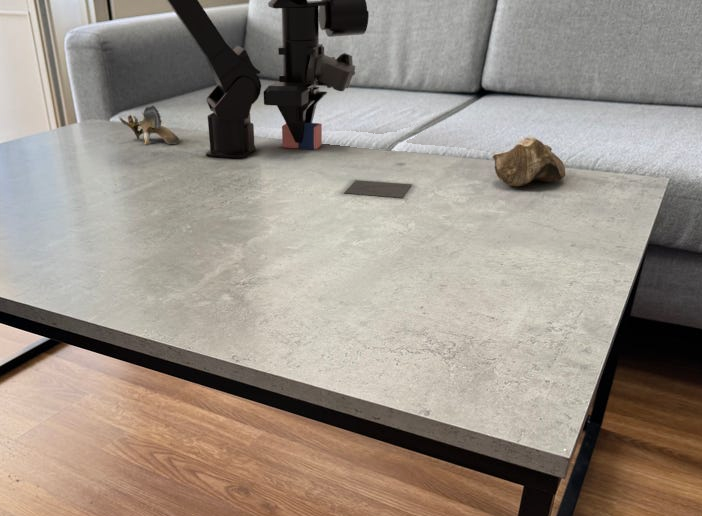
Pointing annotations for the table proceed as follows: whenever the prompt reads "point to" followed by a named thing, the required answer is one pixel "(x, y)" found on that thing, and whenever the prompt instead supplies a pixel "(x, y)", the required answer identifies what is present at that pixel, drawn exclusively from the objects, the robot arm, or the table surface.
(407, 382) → the table surface
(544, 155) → the fossilized seashell
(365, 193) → the dark brown rectangular plate
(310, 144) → the eraser
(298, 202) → the table surface
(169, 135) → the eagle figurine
